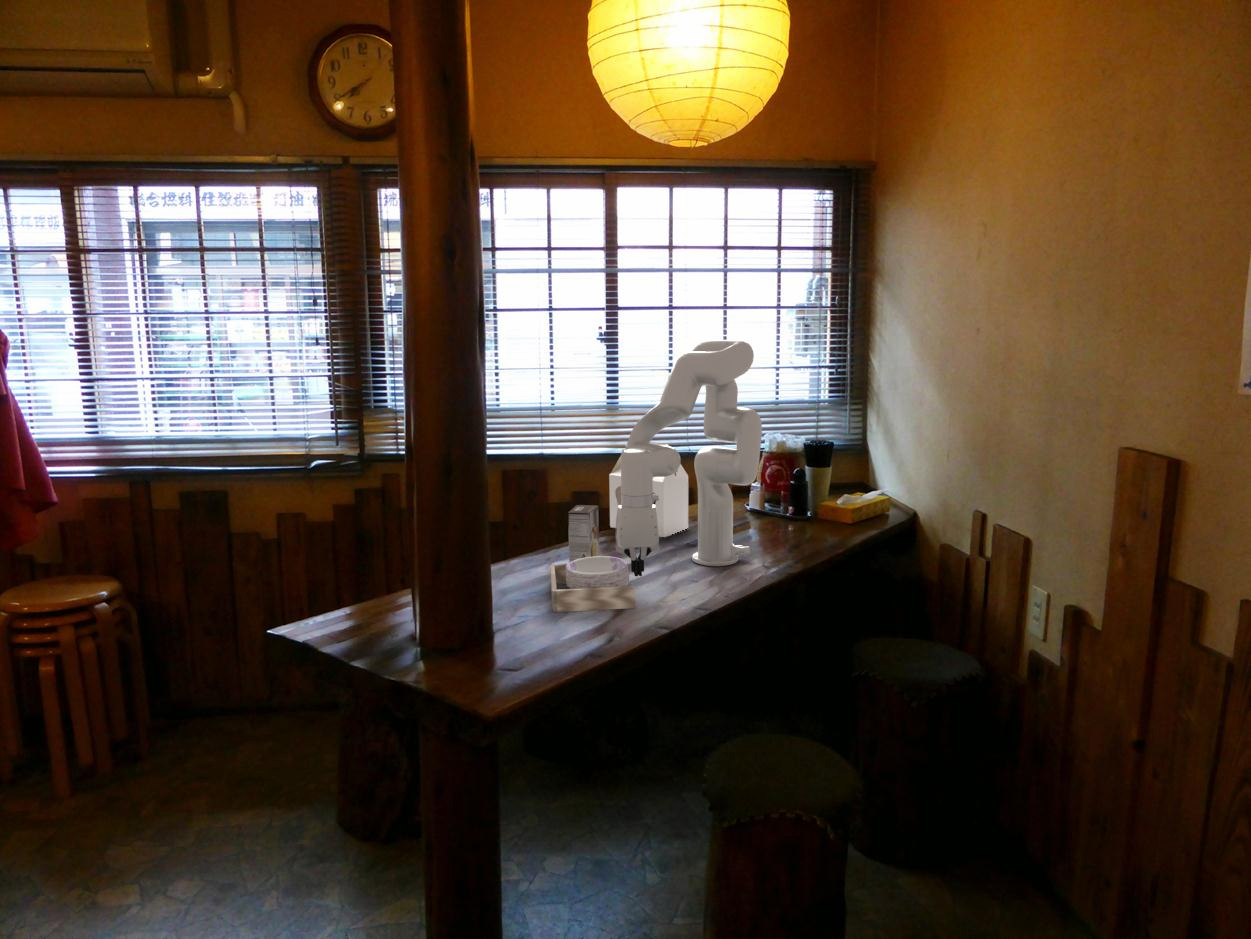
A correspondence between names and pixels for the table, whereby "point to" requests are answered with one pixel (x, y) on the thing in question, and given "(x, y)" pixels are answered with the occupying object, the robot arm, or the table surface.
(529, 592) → the table surface
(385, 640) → the table surface
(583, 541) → the coffee box
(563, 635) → the table surface
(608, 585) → the paper bowls
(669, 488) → the gable box
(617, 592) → the box
